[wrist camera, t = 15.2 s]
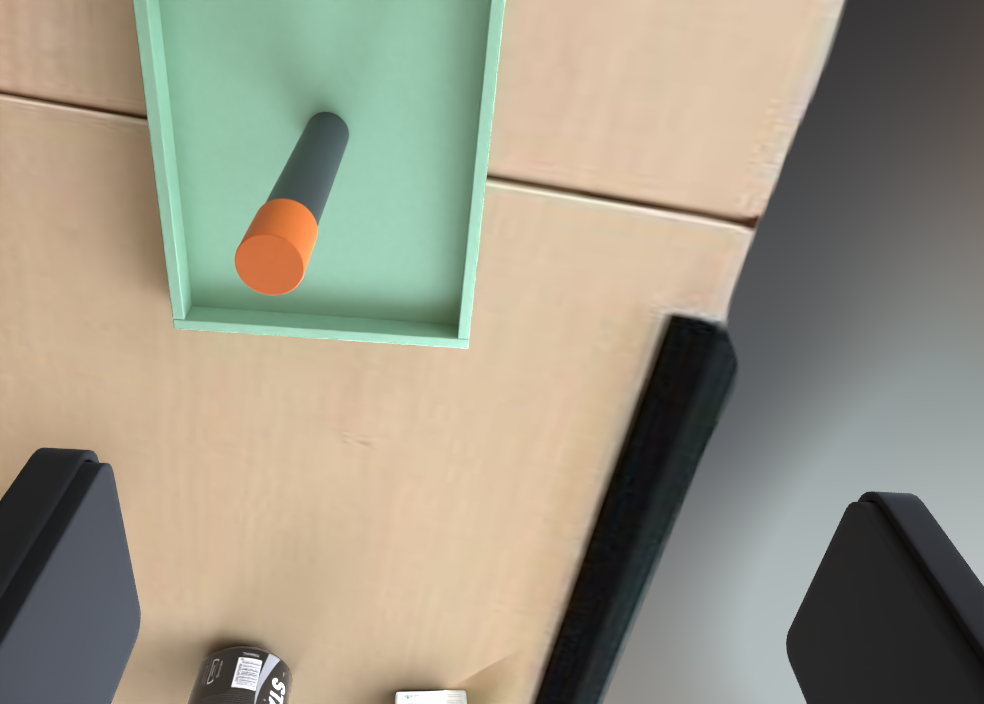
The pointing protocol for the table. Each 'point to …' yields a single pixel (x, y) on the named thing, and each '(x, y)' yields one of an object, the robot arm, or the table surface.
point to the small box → (432, 697)
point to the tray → (363, 169)
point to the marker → (293, 210)
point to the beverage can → (242, 678)
